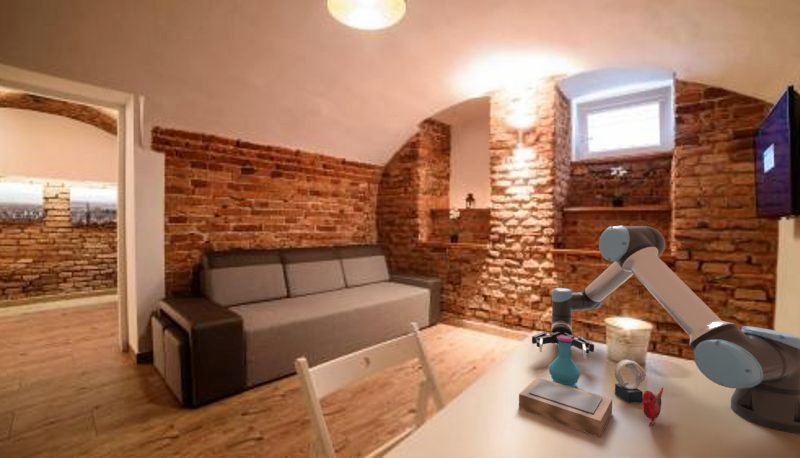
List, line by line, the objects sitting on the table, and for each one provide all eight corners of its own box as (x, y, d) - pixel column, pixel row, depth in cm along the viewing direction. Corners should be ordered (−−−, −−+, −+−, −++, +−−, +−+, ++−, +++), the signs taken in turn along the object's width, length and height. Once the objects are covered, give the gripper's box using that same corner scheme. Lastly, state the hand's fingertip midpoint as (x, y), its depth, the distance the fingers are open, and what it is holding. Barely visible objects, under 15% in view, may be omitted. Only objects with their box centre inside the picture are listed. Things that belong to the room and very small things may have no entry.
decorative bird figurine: (637, 432, 87) (638, 392, 87) (656, 407, 99) (657, 371, 98) (651, 437, 85) (652, 396, 84) (669, 411, 96) (669, 375, 96)
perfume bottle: (542, 379, 116) (542, 334, 115) (565, 375, 118) (565, 331, 118) (563, 392, 107) (563, 343, 106) (587, 388, 110) (588, 340, 109)
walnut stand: (611, 413, 95) (612, 397, 95) (600, 437, 85) (600, 419, 84) (537, 390, 108) (537, 376, 108) (518, 408, 98) (519, 392, 98)
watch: (648, 402, 101) (649, 364, 101) (622, 403, 100) (623, 365, 100) (633, 392, 107) (634, 356, 107) (609, 393, 106) (609, 357, 106)
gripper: (597, 347, 134) (604, 368, 114) (527, 338, 144) (523, 356, 125) (598, 327, 134) (604, 345, 114) (528, 319, 144) (523, 335, 124)
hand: (562, 351), depth 119 cm, fingers open, 13 cm apart
